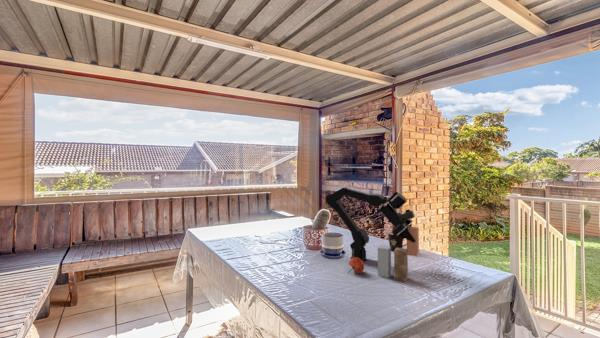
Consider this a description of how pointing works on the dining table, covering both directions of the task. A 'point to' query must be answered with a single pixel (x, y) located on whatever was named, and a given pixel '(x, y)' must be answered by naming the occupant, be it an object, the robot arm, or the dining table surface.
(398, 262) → the walnut block
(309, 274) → the dining table surface
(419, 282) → the dining table surface
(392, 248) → the coffee mug
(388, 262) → the slate block
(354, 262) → the pomegranate
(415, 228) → the rust block
